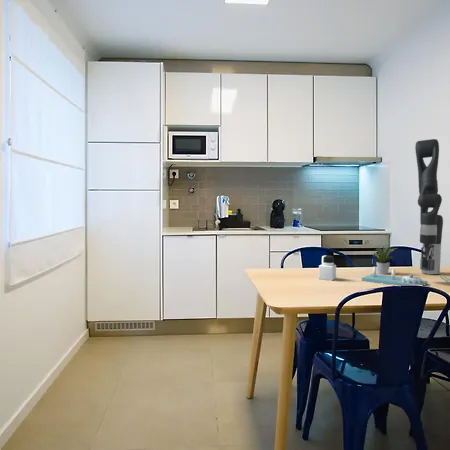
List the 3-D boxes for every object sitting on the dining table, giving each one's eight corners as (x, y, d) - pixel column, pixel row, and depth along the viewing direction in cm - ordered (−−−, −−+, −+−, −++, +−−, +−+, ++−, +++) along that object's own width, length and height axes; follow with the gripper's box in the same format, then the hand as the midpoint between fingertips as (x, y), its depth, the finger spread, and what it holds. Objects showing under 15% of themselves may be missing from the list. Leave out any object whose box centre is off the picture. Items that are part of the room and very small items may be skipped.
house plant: (393, 271, 234) (395, 243, 233) (402, 276, 220) (403, 246, 219) (368, 270, 235) (369, 242, 234) (374, 275, 221) (375, 245, 220)
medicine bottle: (336, 278, 212) (336, 255, 211) (332, 280, 205) (332, 257, 205) (322, 276, 215) (323, 254, 214) (318, 279, 209) (319, 256, 208)
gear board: (373, 276, 218) (373, 264, 217) (427, 284, 200) (428, 270, 199) (361, 280, 206) (362, 267, 206) (418, 288, 189) (418, 274, 188)
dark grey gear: (422, 267, 208) (422, 258, 208) (435, 269, 204) (436, 259, 204) (418, 269, 203) (418, 259, 203) (432, 271, 199) (432, 261, 199)
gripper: (424, 232, 210) (423, 263, 212) (416, 234, 199) (414, 267, 201) (440, 232, 205) (439, 265, 207) (432, 235, 194) (431, 269, 196)
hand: (427, 266), depth 204 cm, fingers closed on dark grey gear, 6 cm apart
